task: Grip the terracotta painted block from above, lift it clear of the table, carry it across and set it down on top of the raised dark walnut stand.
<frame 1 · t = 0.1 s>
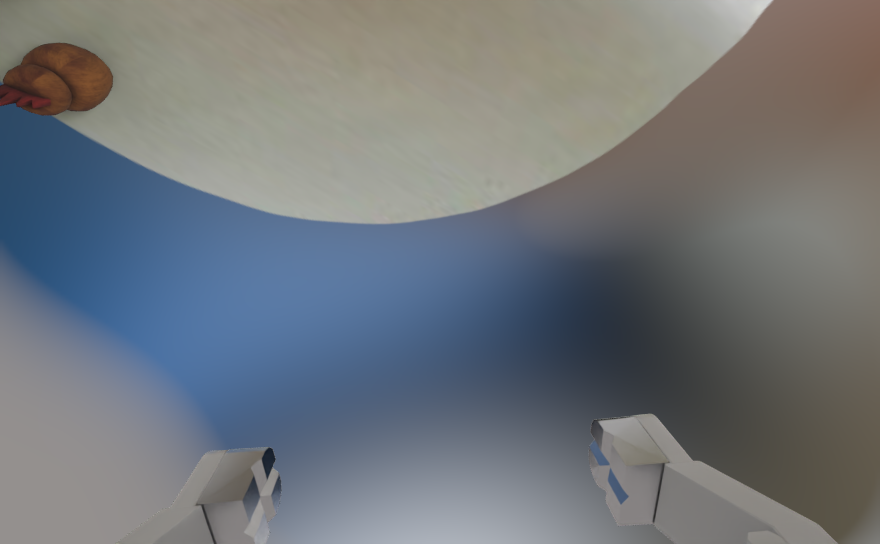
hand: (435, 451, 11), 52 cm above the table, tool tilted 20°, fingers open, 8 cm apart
wooden figurine: (92, 68, 50), on the table
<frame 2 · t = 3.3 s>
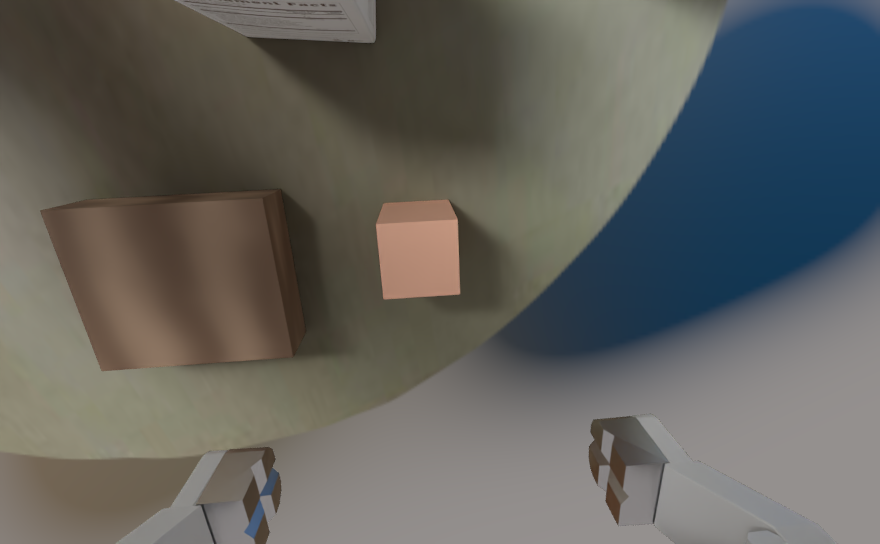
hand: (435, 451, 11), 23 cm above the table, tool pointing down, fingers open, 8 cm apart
terracotta block: (418, 232, 33), on the table
walnut stand: (204, 270, 32), on the table
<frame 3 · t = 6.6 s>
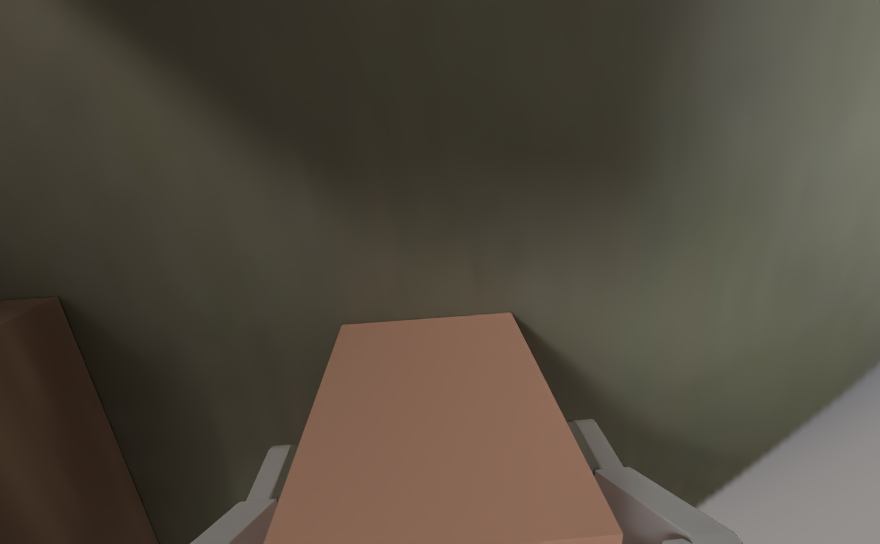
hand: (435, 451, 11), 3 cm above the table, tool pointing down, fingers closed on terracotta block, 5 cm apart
terracotta block: (432, 389, 13), on the table, touching gripper
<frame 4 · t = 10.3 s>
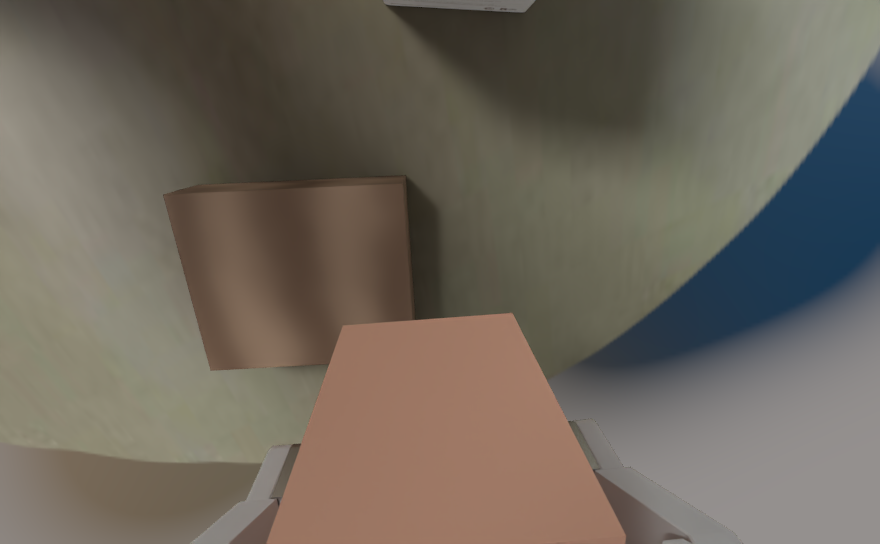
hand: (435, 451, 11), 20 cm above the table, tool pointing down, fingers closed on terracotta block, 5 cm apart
terracotta block: (433, 390, 13), point 18 cm above the table, touching gripper
walnut stand: (315, 263, 30), on the table
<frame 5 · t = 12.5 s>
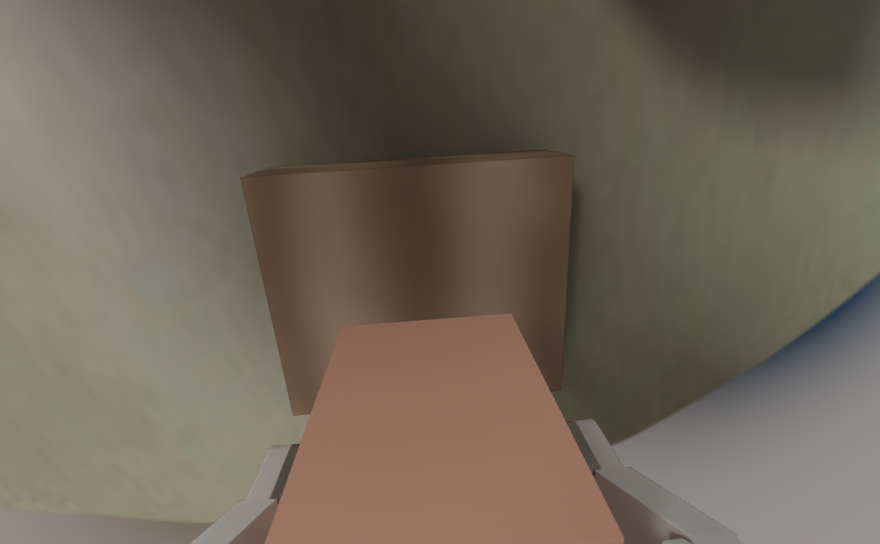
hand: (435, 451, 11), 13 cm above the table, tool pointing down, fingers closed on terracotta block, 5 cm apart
terracotta block: (432, 390, 13), point 11 cm above the table, touching gripper
walnut stand: (418, 268, 23), on the table
when the fingers open (8 cm above the table, at t = 14.3 s): terracotta block drops 1 cm, resting on walnut stand.
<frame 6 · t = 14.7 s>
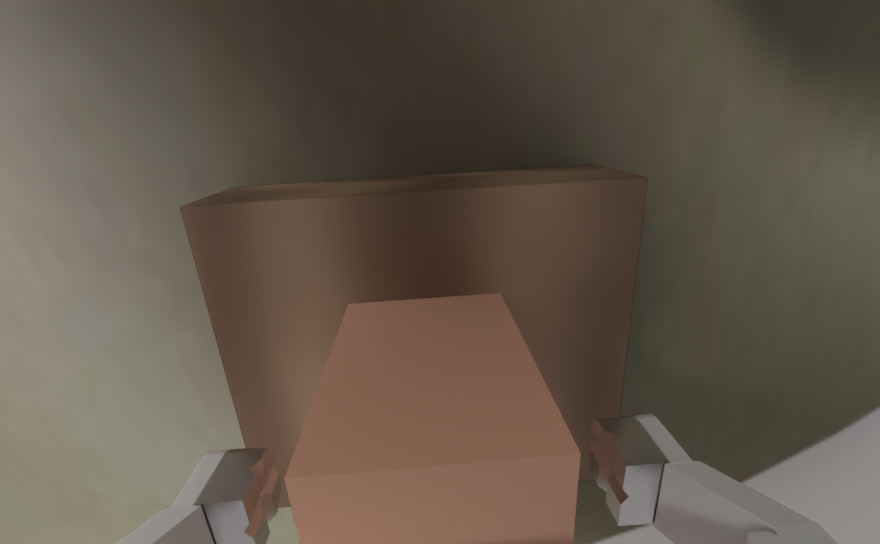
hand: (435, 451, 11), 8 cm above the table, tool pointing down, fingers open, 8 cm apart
terracotta block: (429, 363, 14), point 4 cm above the table, touching walnut stand
walnut stand: (427, 314, 18), on the table
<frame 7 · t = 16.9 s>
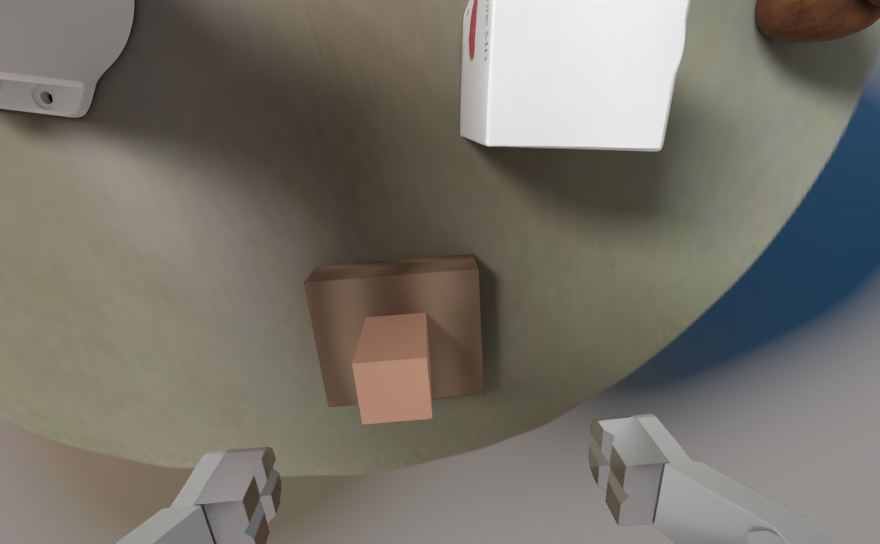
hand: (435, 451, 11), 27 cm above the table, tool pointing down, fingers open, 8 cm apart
terracotta block: (399, 341, 35), point 4 cm above the table, touching walnut stand
supplement box: (515, 79, 32), on the table
walnut stand: (401, 320, 39), on the table
wooden figurine: (778, 1, 31), on the table
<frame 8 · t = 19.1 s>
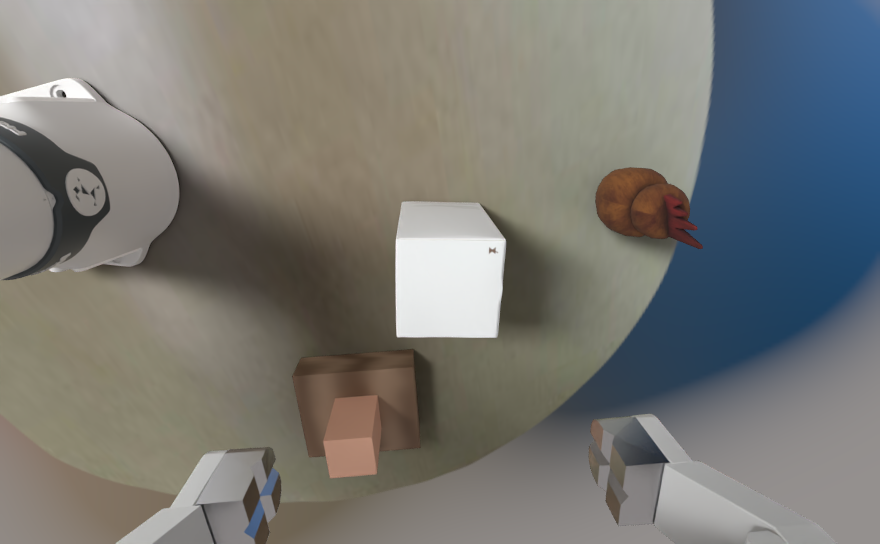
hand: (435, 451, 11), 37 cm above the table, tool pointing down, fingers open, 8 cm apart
terracotta block: (358, 413, 50), point 4 cm above the table, touching walnut stand
supplement box: (438, 239, 47), on the table
walnut stand: (363, 393, 54), on the table
wooden figurine: (612, 194, 47), on the table
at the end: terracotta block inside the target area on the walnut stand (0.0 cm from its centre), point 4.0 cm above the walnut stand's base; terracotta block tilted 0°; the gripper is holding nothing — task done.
